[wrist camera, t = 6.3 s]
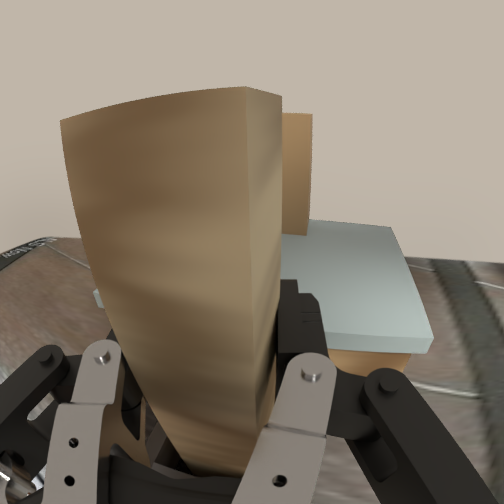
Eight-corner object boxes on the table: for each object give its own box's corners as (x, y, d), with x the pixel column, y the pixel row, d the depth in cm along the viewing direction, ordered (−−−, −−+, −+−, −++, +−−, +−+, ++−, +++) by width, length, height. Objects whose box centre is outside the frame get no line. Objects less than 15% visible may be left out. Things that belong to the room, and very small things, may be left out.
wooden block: (272, 436, 14) (281, 96, 6) (258, 489, 11) (245, 86, 3) (212, 425, 15) (154, 105, 7) (193, 474, 12) (59, 120, 4)
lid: (388, 238, 21) (402, 123, 17) (426, 353, 11) (488, 150, 7) (184, 222, 25) (174, 117, 20) (98, 306, 15) (56, 145, 10)
